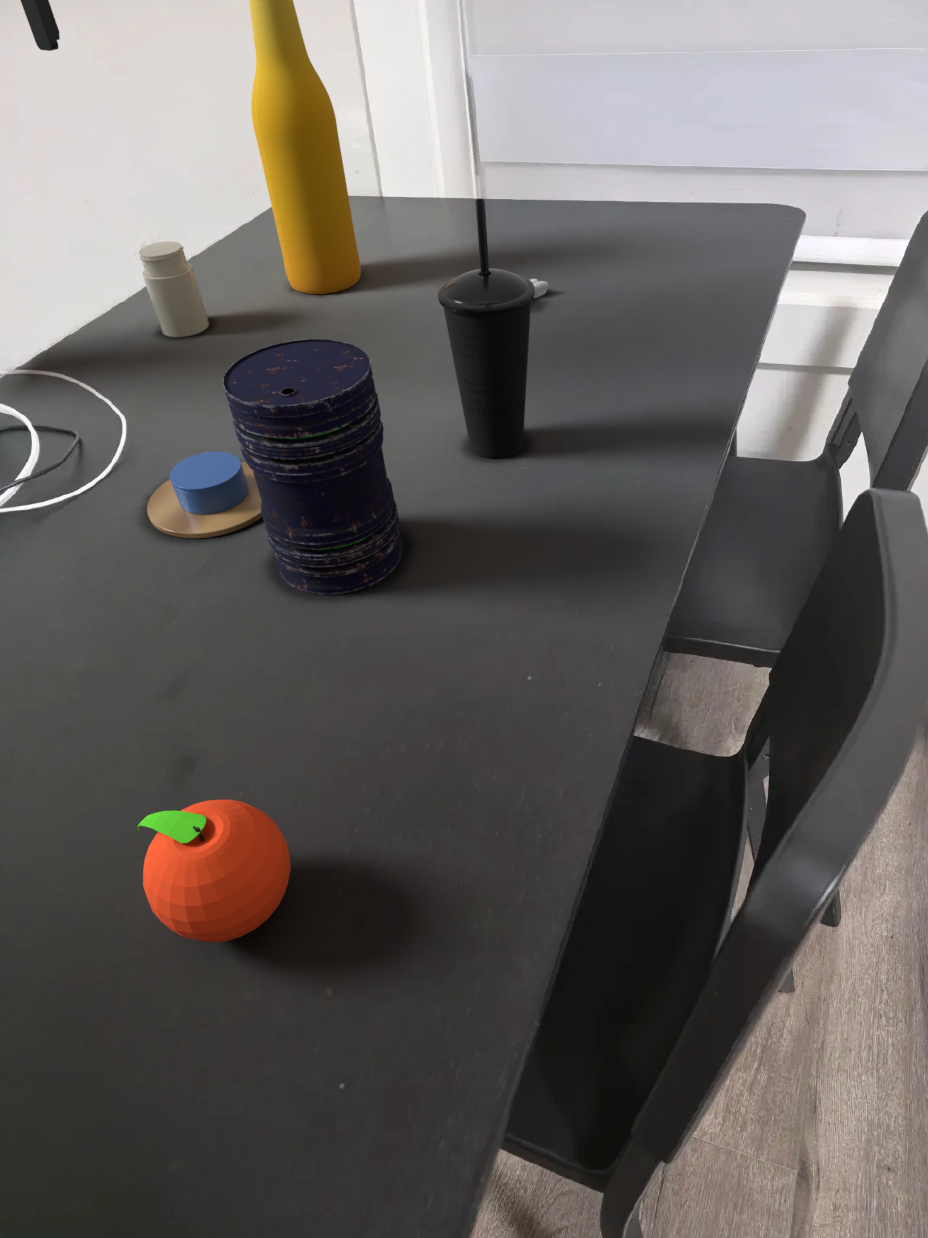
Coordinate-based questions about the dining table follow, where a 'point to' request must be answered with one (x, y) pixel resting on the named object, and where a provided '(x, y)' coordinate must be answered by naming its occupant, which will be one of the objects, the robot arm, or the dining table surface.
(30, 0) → the robot arm
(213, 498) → the jar lid
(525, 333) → the drinking cup
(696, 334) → the dining table surface
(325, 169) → the beer bottle
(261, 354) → the navy ridged cylinder
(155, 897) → the clementine
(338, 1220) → the dining table surface
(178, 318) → the jar
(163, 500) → the coaster
